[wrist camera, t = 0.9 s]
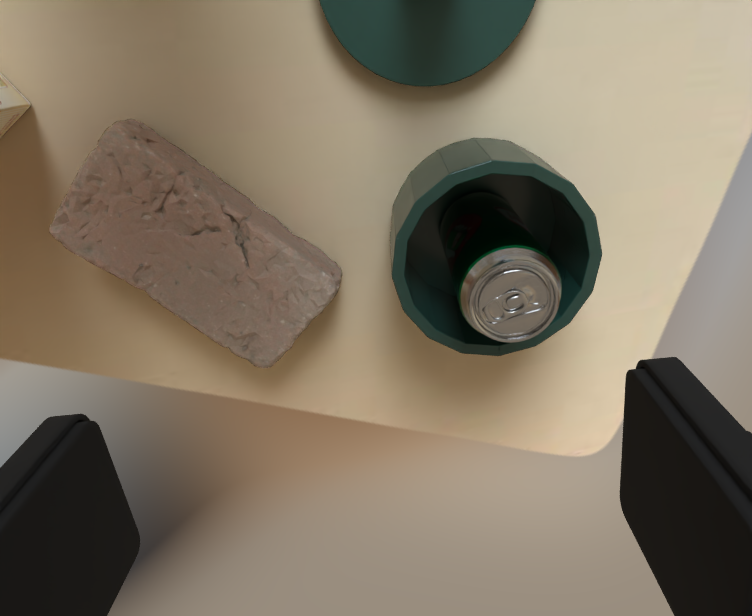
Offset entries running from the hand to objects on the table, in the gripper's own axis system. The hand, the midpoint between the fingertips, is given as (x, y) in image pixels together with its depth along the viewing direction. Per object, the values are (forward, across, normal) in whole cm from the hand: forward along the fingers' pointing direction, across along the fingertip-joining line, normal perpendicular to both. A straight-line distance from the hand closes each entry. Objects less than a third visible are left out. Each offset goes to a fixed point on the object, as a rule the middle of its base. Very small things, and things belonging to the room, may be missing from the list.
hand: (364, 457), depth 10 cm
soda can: (+30, -6, +5) cm, 31 cm away
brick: (+30, +12, +4) cm, 32 cm away
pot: (+30, -6, +5) cm, 31 cm away
